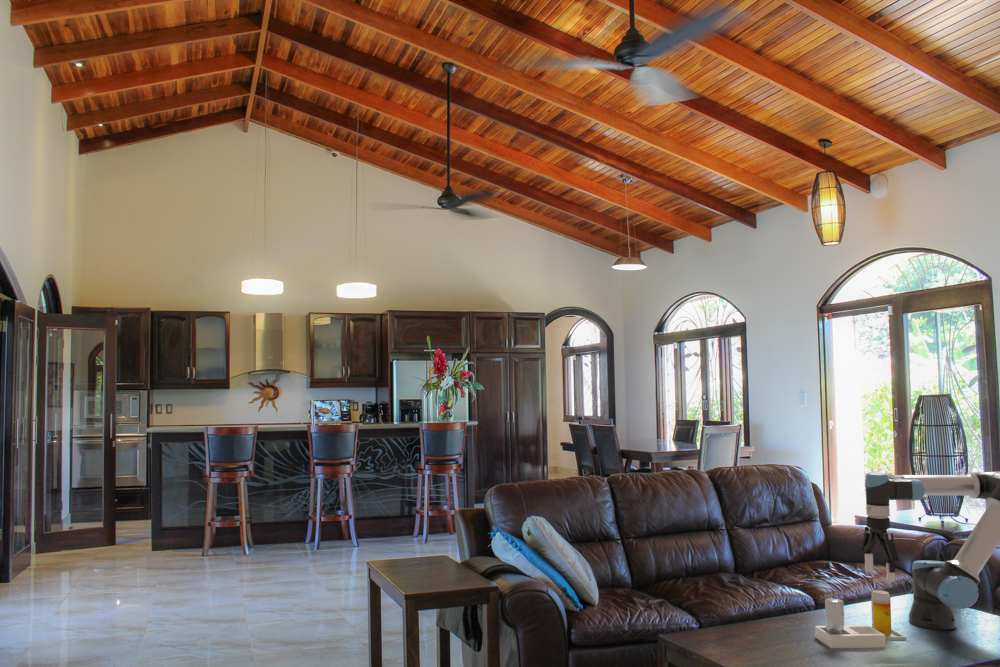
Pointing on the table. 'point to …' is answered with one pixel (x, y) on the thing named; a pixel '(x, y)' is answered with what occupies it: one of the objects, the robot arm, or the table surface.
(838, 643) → the dock
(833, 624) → the shiny metal cylinder
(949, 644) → the table surface
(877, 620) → the beer can
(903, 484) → the robot arm
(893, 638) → the empty picture frame
